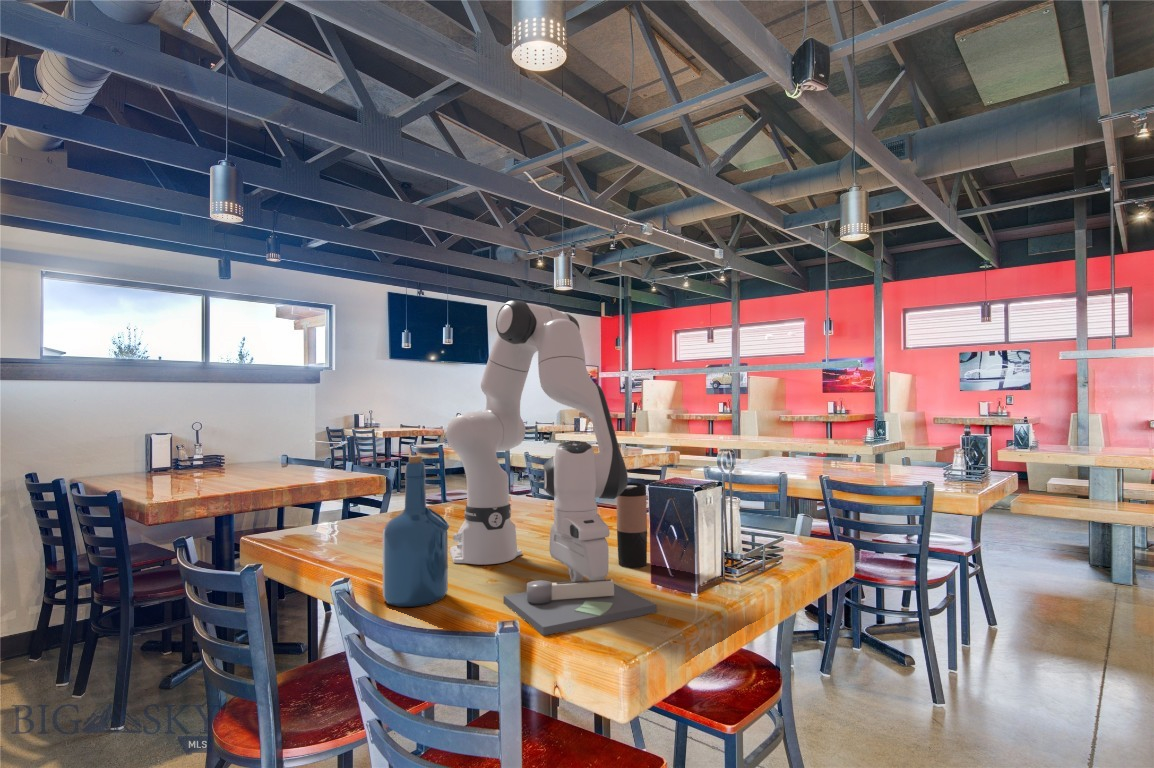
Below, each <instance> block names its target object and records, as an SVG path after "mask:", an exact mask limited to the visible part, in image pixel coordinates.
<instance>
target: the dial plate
mask: <svg viewBox="0 0 1154 768" xmlns="http://www.w3.org/2000/svg"><path fill="white" fill-rule="evenodd" d="M599 580H602V579H599ZM502 603H503V605H505V606H507V607H508V609H510V610H511V609H512V610H511V611H512V612H513V613H515V612H516V613H517V614H518V615H517V614H516V613H515V614H516V615H517V616H518V617H520V616H521V617H522V618H523V619H525V620H526V621H527V622H528V623H530V624H531V625H532V626H533V627H534V628H535V629H536V631H537V632H538V633H539V634H540V635H541V636H543V637H545V636H550V635H554V634H553V633H555V634H558V633H557V632H560V633H564V632H563V631H565V632H568V631H567V630H570V631H574V630H579V629H583V627H584V628H588V627H594V626H597V625H603V624H607V623H612V622H617V621H622V620H626V619H632V618H638V617H642V616H646V615H647V616H648V615H650V614H651V615H652V614H655V613H657V612H658V611H657V610H658V609H657V608H658V607H657V603H655V602H652V601H650V600H648V599H646V598H644V597H642V596H641V595H638V594H636V593H634V592H632V591H631V590H628V589H627V588H624V587H623V586H620V585H618V584H616V583H615V582H614V596H600V597H586V598H572V599H558V600H551V601H550V602H547V603H539V604H537V603H530V602H528V601H527V591H524V592H518V593H510V594H505V595H503V602H502ZM521 617H520V618H521ZM522 618H521V619H522ZM523 619H522V620H523ZM525 620H524V621H525ZM526 621H525V622H526ZM527 622H526V623H527ZM528 623H527V624H528ZM531 625H530V626H531ZM532 626H531V627H532ZM533 627H532V628H533ZM534 628H533V629H534ZM578 628H579V629H578ZM535 629H534V630H535ZM573 629H574V630H573ZM549 634H550V635H549Z"/></svg>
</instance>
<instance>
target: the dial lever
mask: <svg viewBox="0 0 1154 768" xmlns="http://www.w3.org/2000/svg"><path fill="white" fill-rule="evenodd" d="M614 583H615V581H614V580H613V578H604V579H602V580H600V579H599V580H589V579H587V580H583V581H572V582H571V581H561V582H560V581H559V582H551V581H549V580H543V579H542V580H541V579H539V580H531V581H529V582H527V583H526V592H527V601H528V602H530V603H537V604H539V603H547V602H550V601H551V600H558V599H572V598H586V597H600V596H614Z"/></svg>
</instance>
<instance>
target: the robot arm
mask: <svg viewBox="0 0 1154 768" xmlns="http://www.w3.org/2000/svg"><path fill="white" fill-rule="evenodd" d="M495 320H496V321H495V328H496V332H497V335H496V338H495V341H494V343H493V344H492V348H491V349H490V353H489V355H488V359H487V363H486V365H485V368H484V373H483V375H482V379H481V382H480V388H481V391H482V393H483V394H484V395H485V397H486V405H485V410H484V411H477V412H476V411H470V412H466V413H462V414H459V415H457V416H454V417H453V418H452V419H451V420H450V421H449V423H448V424H447V427H446V431H445V432H446V433H445V435H446V441H447V444H448V445H449V447H450V448H451V450H453V451H454V453H456V454H457V455H458V457H459V460H460V461H461V464H462V466H463V469H464V473H465V477H466V478H465V479H466V499H467V500H466V503H467V504H466V505H465V509H464V521H463V523H462V525H461V526H460V528H458V531H457V533H453V535H452V539H453V543H457V545H453V546H450V547H449V553H450V555H451V559H452V561H453V562H452V563H453V564H469V565H480V566H481V565H496V564H502V563H507V562H509V561H512V560H515V558H516V557H518V556H521V555H522V554H523V550H522V549H519V548H518V543H517V527H516V524H515V522H513V521H512V520H511V519H510V518H511V517H512V513H511V512H512V508H511V504H510V497H509V496H510V490H509V489H510V488H509V487H510V486H509V483H510V482H509V478H510V477H509V475H508V473H507V471H506V470H504V469H503V468H502V467H501V465H500V463H499V459H498V455H497V452H507V451H509V450H511V449H513V448H516V447H518V446H519V445H521V444H522V443H523V441H524V440H525V436H526V425H525V422H524V421H523V419H522V417H521V401H522V400H521V399H522V396H523V395H522V394H523V391H524V388H525V383H526V381H527V378H528V375H529V371H530V367H531V364H532V360H533V357H534V354H536V353H538V354H537V358H538V359H537V362H538V365H537V366H538V377H539V383H540V387H541V389H542V390H543V392H544V394H545V395H547V397H549V398H550V399H552V400H553V401H554V402H557V403H559V404H560V405H561V404H562V405H563V406H564V405H565V406H567V407H569V408H573V409H576V410H577V411H580V412H581V413H584V414H585V415H586V416H587V417H588V418H589V419H590V421H591V423H592V426H593V430H594V431H593V432H594V434H595V438H596V442H597V446H598V450H599V452H597V453H595V452H594V449H593V445H592V444H590V443H588V442H585V441H581V440H580V441H578V440H572V441H571V440H570V441H569V440H568V441H564V442H562V443H559V444H558V445H557V446H556V448H555V455H553V456H551V457H550V458H549V459H548V460H546V461H545V463H544V464H543V474H544V476H543V477H544V479H543V491H544V492H546V493H547V494H548V495H550V497H552V498H555V501H554V505H553V507H554V508H553V511H554V513H553V514H554V518H553V519H554V520H553V524H552V525H551V527H550V530H549V531H550V533H549V554H550V556H551V558H552V559H554V560H556V561H557V562H559V563H561V564H562V565H564V566H566V567H567V569H568V570H567V571H568V575H569V577H570V582H572V581H584V580H585V579H584V578H586V579H587V580H600V579H607V578H606V577H607V576H608V573H609V564H610V563H609V561H610V559H609V555H610V554H609V553H610V552H609V543H608V540H607V538H609V537H610V526H609V525H608V524H607V523H606V522H605V521H604V520H603V518H601V517H602V516H601V515H600V514H599V513H598V503H597V500H596V499H597V498H598V499H603V500H604V499H605V500H608V499H609V500H614V499H617V497H618V496H619V495H620V494H621V493H622V492H623V491H624V490H625V488H626V487H627V483H629V482H628V479H629V477H628V475H629V474H628V470H627V466H626V464H625V460H624V457H623V455H622V452H621V449H620V445H619V441H618V439H617V435H616V431H615V427H614V425H613V424H614V423H613V420H612V416H611V412H610V409H609V406H608V402H607V399H606V396H605V393H604V391H603V389H602V387H601V386H600V385H598V384H597V383H595V382H594V381H593V379H592V378H591V376H590V375H589V372H588V370H587V363H586V355H585V354H586V353H585V348H584V342H583V338H582V334H581V332H580V331H581V330H580V324H579V322H578V319H576V318H575V317H574V316H572V315H571V314H569V313H567V312H564V311H560V310H557V309H556V308H552V307H550V306H546V305H539V304H535V303H529V302H525V301H523V300H509V301H507V302H505V303H504V304H502V306H501V307H500V309H499V310H498V313H497V315H496V319H495Z"/></svg>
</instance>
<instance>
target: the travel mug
mask: <svg viewBox="0 0 1154 768" xmlns="http://www.w3.org/2000/svg"><path fill="white" fill-rule="evenodd" d="M647 512H648V511H647V486H646V484H645V483H639V482H638V483H637V482H627V487H626V488H625V490H624V491H623V492H622V493H621V494H620V495H619V496H618V497H616V535H617V538H616V539H617V558H618V559H617V560H618V565H619V566H620V567H622V568H623V567H624V568H627V567H629V568H630V569H638V568H644V567H646V566H647V563H648V519H647V518H648V516H647V515H648V513H647ZM629 568H628V569H629Z"/></svg>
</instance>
